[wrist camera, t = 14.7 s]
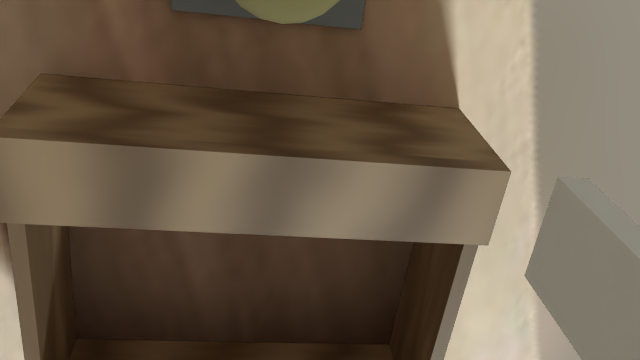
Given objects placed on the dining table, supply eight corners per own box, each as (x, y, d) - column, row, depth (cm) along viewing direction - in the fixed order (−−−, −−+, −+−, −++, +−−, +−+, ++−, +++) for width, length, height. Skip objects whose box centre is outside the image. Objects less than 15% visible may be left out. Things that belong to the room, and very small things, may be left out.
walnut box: (64, 347, 42) (29, 448, 35) (40, 74, 32) (-15, 136, 26) (397, 352, 45) (425, 445, 38) (459, 108, 36) (511, 171, 29)
